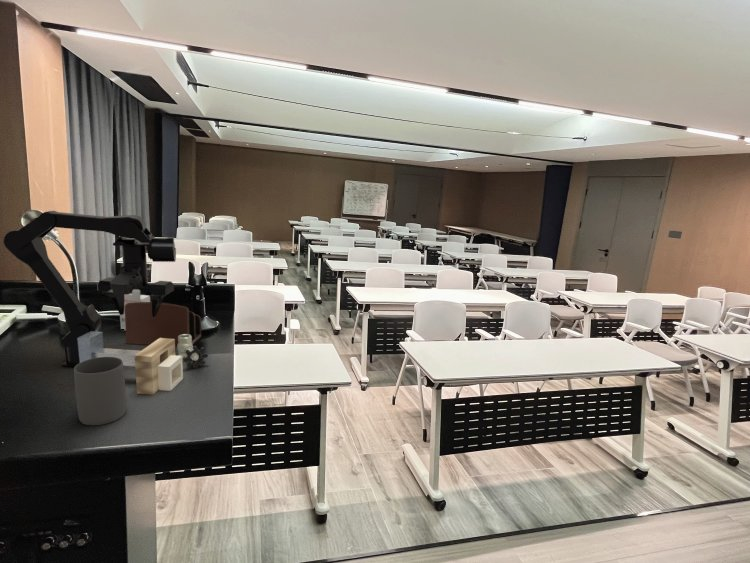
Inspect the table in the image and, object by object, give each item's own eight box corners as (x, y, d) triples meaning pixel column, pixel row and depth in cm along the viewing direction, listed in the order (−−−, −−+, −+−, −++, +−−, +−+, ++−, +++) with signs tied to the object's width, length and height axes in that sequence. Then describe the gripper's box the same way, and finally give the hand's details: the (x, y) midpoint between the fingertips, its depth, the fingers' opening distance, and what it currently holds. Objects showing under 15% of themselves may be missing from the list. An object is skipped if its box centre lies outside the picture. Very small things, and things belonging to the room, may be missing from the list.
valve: (171, 356, 128) (184, 371, 119) (170, 335, 126) (183, 349, 117) (194, 352, 132) (208, 366, 123) (193, 331, 130) (207, 344, 122)
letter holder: (189, 348, 135) (187, 305, 132) (125, 344, 134) (122, 301, 131) (201, 337, 144) (200, 296, 141) (142, 333, 144) (139, 292, 141)
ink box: (152, 328, 149) (150, 286, 146) (142, 332, 144) (140, 290, 141) (130, 325, 150) (127, 284, 147) (120, 329, 146) (117, 287, 142)
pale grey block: (80, 371, 108) (77, 338, 106) (93, 363, 113) (90, 331, 111) (148, 376, 108) (146, 342, 106) (158, 367, 113) (156, 335, 111)
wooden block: (137, 393, 105) (134, 355, 103) (161, 372, 117) (159, 337, 115) (153, 394, 105) (151, 356, 103) (176, 373, 117) (174, 338, 115)
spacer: (158, 390, 108) (157, 366, 106) (171, 377, 115) (170, 355, 113) (170, 390, 108) (169, 366, 106) (183, 378, 115) (182, 355, 113)
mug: (133, 416, 96) (129, 366, 93) (85, 431, 89) (80, 378, 87) (112, 393, 105) (108, 347, 102) (67, 406, 98) (62, 356, 95)
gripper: (81, 264, 111) (86, 322, 114) (153, 269, 111) (156, 327, 114) (107, 257, 122) (111, 310, 125) (173, 261, 122) (175, 314, 125)
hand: (138, 315), depth 122 cm, fingers open, 9 cm apart
